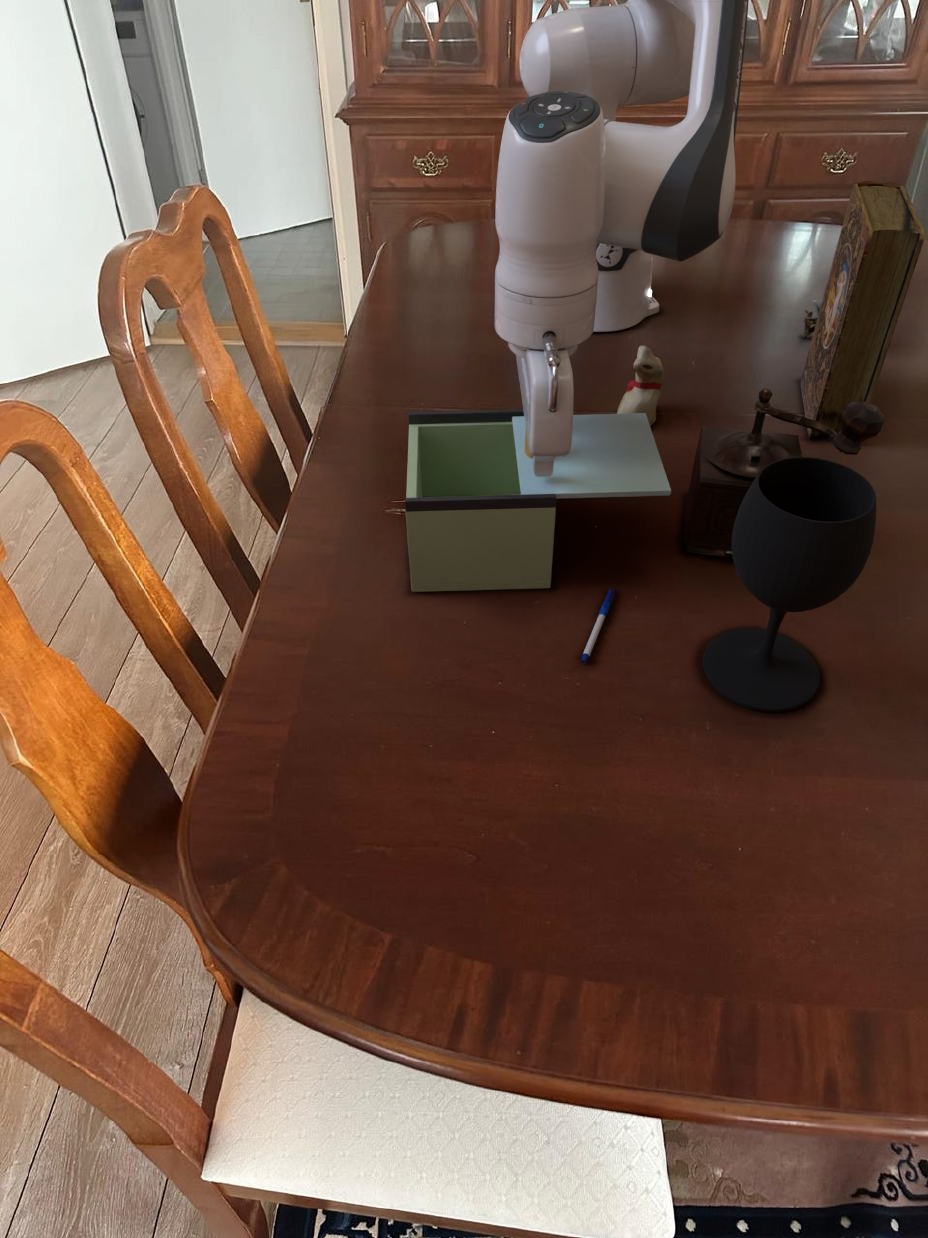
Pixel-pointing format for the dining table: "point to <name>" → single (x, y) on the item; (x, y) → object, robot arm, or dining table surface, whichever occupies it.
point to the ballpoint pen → (598, 624)
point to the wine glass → (790, 574)
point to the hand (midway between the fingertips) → (538, 445)
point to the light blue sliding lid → (598, 460)
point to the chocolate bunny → (644, 386)
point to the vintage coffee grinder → (754, 466)
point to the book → (861, 300)
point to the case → (473, 506)
